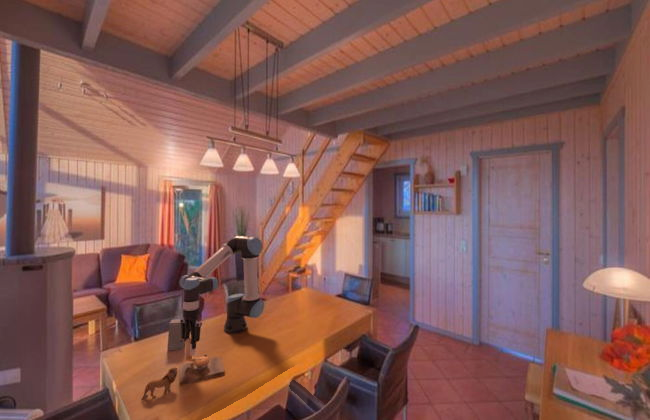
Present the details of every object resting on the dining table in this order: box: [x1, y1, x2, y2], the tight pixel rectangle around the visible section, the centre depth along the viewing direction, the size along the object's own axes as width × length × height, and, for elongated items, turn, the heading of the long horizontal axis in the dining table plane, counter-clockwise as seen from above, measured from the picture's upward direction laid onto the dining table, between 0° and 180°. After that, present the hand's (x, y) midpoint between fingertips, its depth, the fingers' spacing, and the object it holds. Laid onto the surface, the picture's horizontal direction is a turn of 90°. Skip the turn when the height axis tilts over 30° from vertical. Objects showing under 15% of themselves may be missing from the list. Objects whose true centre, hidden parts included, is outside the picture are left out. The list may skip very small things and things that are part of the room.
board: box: [178, 353, 226, 386], centre depth 144 cm, size 20×16×6 cm
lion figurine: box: [140, 366, 179, 401], centre depth 126 cm, size 15×5×9 cm, turn 141°
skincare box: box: [167, 318, 185, 352], centre depth 168 cm, size 8×7×16 cm
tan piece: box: [185, 337, 210, 366], centre depth 145 cm, size 13×7×11 cm, turn 73°
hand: (190, 353), depth 147 cm, fingers closed on tan piece, 3 cm apart
